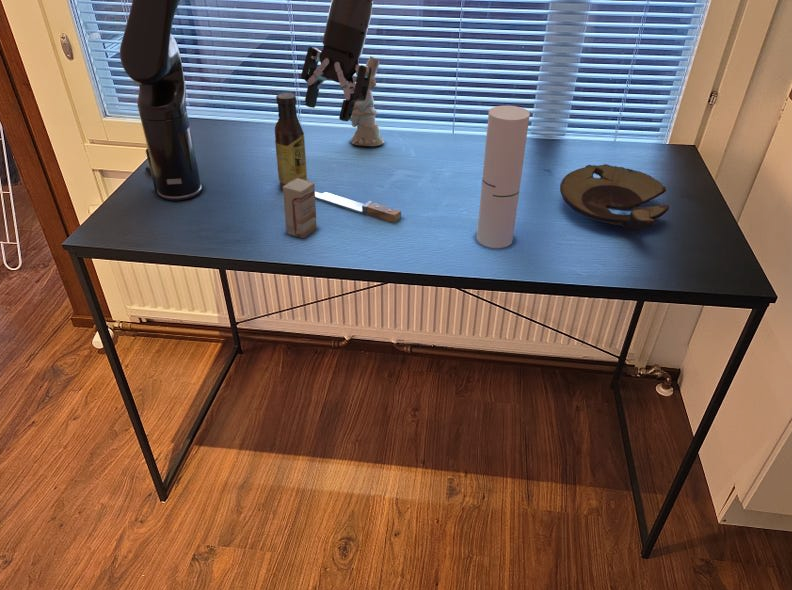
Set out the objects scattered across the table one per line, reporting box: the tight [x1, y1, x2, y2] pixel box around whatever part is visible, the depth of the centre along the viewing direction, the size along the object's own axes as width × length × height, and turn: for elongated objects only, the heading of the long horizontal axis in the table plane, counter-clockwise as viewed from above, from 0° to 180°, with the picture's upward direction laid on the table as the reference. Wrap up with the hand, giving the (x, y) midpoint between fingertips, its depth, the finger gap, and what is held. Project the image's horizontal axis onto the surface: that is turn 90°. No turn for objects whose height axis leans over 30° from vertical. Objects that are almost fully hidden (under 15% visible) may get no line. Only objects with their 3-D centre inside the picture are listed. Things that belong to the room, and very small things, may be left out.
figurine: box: [348, 56, 385, 147], centre depth 162 cm, size 9×8×20 cm
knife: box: [315, 191, 402, 224], centre depth 141 cm, size 22×3×2 cm, turn 57°
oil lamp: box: [559, 163, 670, 234], centre depth 137 cm, size 22×30×8 cm
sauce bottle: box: [274, 92, 308, 190], centre depth 142 cm, size 7×6×20 cm
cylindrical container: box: [476, 105, 531, 249], centre depth 124 cm, size 7×7×25 cm
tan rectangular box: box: [282, 178, 318, 239], centre depth 130 cm, size 5×4×10 cm
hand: (326, 113), depth 128 cm, fingers open, 8 cm apart
